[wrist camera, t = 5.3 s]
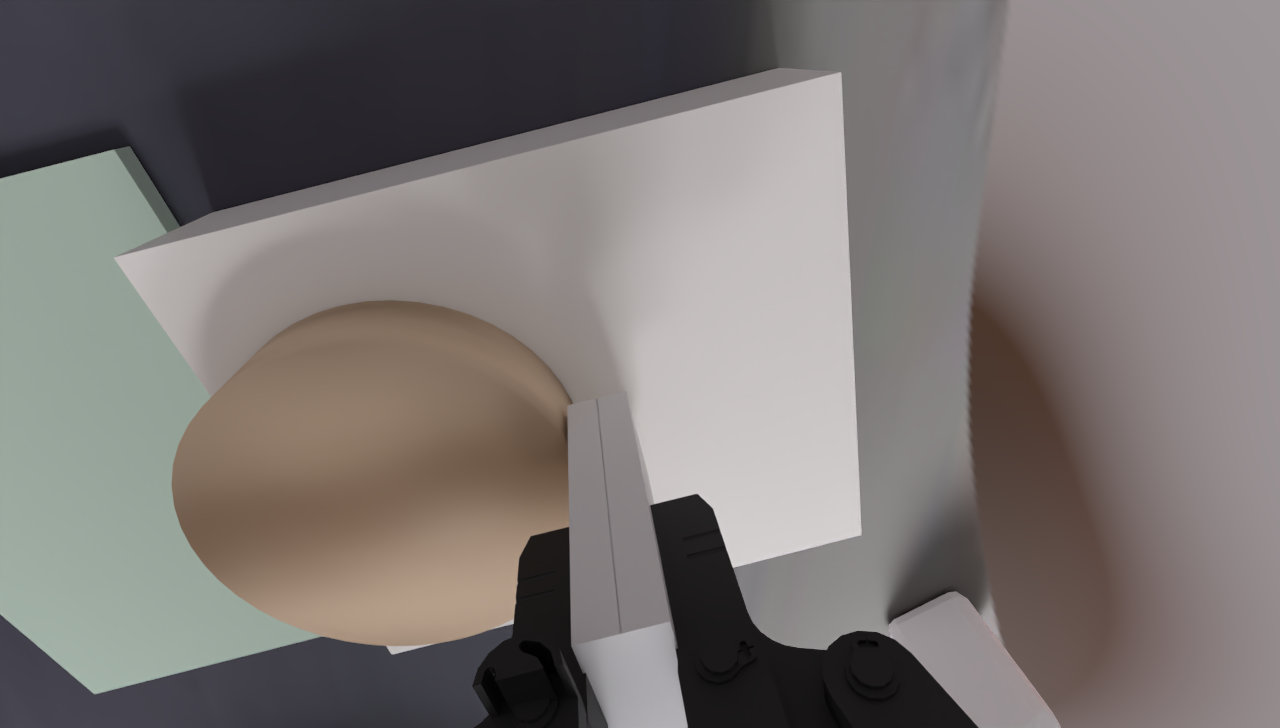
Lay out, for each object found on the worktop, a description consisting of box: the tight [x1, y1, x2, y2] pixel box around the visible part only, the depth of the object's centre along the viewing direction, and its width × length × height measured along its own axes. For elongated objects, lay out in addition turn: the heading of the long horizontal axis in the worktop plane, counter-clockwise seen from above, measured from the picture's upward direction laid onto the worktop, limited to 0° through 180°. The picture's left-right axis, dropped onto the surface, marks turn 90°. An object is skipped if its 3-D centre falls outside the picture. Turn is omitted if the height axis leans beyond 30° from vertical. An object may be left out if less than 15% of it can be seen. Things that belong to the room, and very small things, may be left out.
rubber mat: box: [0, 146, 321, 694], centre depth 19 cm, size 18×13×1 cm
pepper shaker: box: [889, 591, 1061, 728], centre depth 24 cm, size 4×4×10 cm
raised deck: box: [114, 68, 862, 655], centre depth 17 cm, size 14×16×4 cm
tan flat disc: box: [171, 300, 573, 646], centre depth 15 cm, size 9×9×2 cm
